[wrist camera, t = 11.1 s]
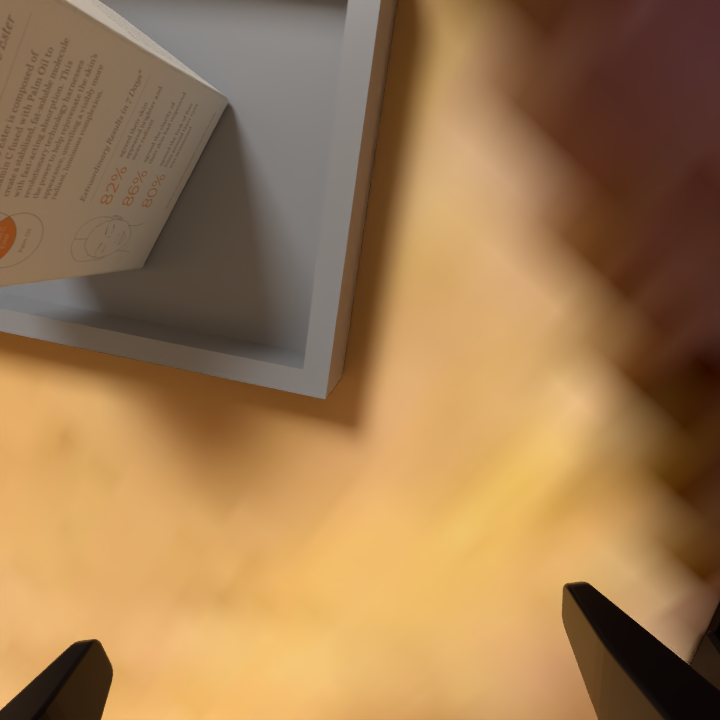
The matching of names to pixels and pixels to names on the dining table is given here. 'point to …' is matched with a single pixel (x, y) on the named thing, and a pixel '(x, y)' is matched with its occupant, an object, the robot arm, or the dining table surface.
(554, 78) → the dining table surface
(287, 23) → the tray
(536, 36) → the dining table surface
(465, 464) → the dining table surface
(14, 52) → the small box
